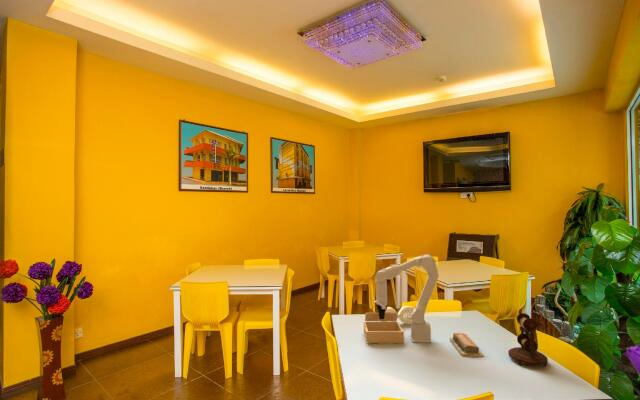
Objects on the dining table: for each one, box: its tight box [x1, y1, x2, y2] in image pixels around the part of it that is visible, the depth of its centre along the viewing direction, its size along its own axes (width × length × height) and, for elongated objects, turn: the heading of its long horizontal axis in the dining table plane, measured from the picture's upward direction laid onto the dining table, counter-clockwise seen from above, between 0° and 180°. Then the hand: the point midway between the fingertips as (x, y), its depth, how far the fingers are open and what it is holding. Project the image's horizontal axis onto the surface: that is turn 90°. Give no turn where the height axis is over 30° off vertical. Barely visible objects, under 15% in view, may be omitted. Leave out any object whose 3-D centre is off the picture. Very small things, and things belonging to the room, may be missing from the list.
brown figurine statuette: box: [508, 312, 549, 367], centre depth 146 cm, size 15×15×20 cm
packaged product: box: [449, 332, 484, 358], centre depth 159 cm, size 18×5×10 cm
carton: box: [363, 321, 405, 345], centre depth 173 cm, size 19×14×6 cm
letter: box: [380, 305, 414, 325], centre depth 192 cm, size 22×2×10 cm, turn 99°
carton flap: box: [364, 312, 399, 322], centre depth 178 cm, size 17×7×1 cm
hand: (381, 318), depth 176 cm, fingers closed, pressing on carton flap
